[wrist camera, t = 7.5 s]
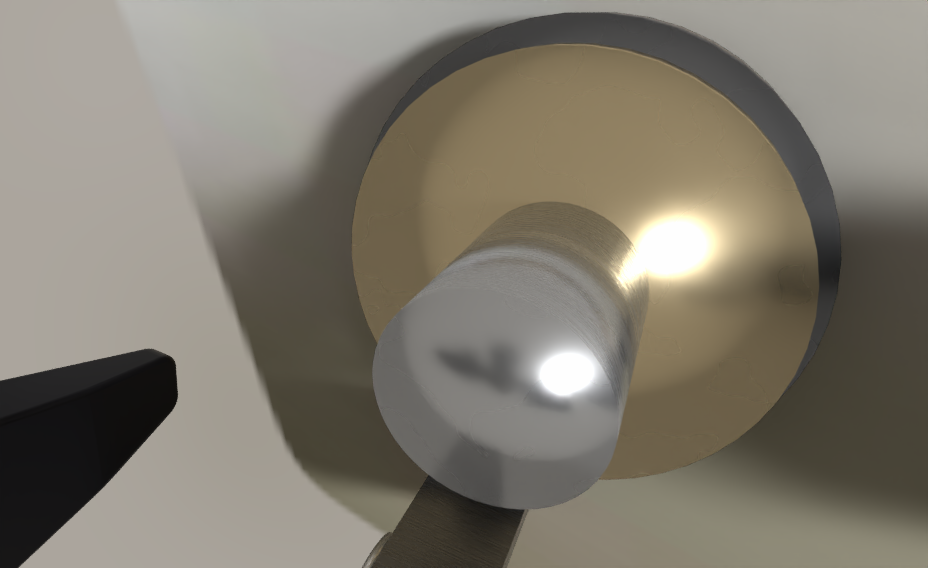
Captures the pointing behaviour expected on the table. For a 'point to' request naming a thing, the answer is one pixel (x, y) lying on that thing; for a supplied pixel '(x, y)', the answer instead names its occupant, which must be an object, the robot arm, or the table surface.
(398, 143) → the pan
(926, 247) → the table surface
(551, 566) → the table surface
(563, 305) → the cylinder
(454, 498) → the base
